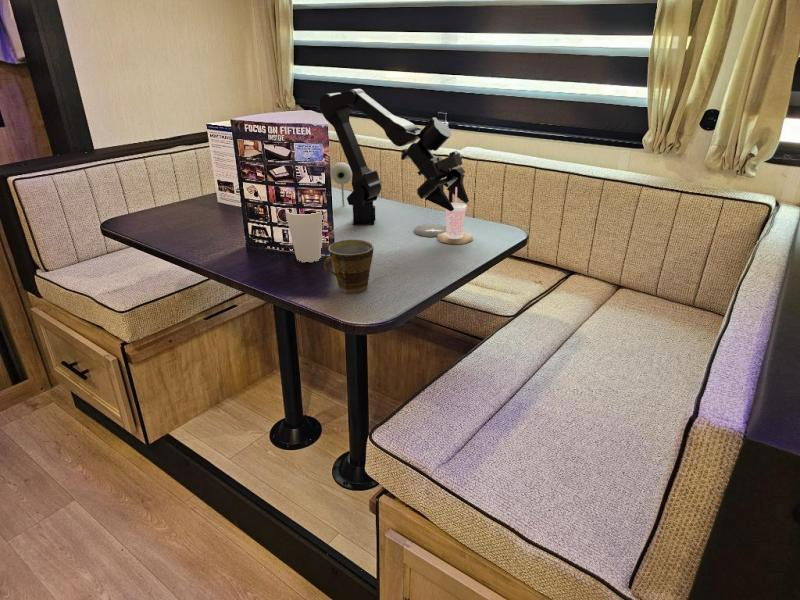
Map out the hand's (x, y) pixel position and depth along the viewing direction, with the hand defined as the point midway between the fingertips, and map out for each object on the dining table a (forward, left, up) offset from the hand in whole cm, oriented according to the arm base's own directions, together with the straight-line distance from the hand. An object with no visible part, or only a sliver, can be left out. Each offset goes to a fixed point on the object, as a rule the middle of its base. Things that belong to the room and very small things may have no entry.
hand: (460, 206), depth 149 cm
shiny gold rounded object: (-1, +1, -10) cm, 10 cm away
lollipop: (-34, +37, -10) cm, 51 cm away
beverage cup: (-1, +1, -9) cm, 9 cm away
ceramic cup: (-30, -32, -10) cm, 45 cm away
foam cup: (-41, -11, -10) cm, 44 cm away
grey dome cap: (-7, +8, -10) cm, 14 cm away
